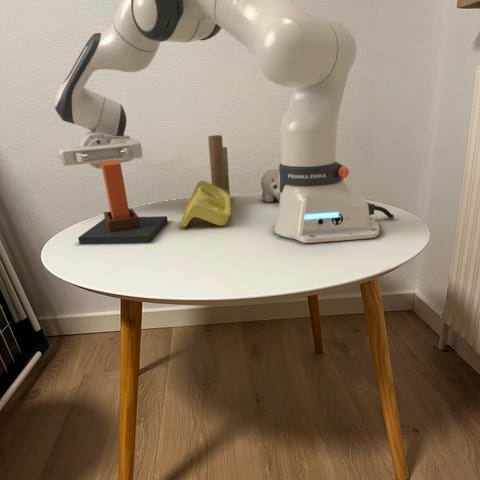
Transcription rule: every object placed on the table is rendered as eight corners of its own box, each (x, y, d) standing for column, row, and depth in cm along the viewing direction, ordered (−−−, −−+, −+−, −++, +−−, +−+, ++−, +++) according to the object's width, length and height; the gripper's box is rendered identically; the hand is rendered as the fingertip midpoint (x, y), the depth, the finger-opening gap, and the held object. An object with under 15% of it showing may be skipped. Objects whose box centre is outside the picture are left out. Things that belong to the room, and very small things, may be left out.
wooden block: (230, 198, 126) (226, 132, 118) (226, 207, 117) (221, 136, 108) (217, 199, 127) (212, 132, 118) (212, 208, 117) (206, 137, 109)
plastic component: (230, 217, 99) (189, 200, 97) (219, 244, 103) (179, 229, 101) (230, 192, 116) (195, 177, 114) (220, 216, 119) (186, 202, 117)
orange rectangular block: (112, 223, 104) (100, 162, 97) (127, 220, 105) (116, 160, 98) (116, 229, 99) (103, 165, 92) (131, 226, 100) (120, 163, 93)
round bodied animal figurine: (265, 209, 113) (265, 175, 109) (259, 198, 124) (258, 167, 120) (292, 207, 114) (292, 173, 110) (284, 196, 124) (284, 166, 120)
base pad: (167, 222, 107) (165, 206, 105) (149, 242, 93) (146, 224, 92) (106, 223, 109) (103, 207, 107) (79, 244, 95) (75, 226, 93)
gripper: (55, 142, 112) (56, 147, 100) (134, 134, 118) (143, 138, 106) (61, 167, 115) (63, 175, 103) (138, 159, 121) (147, 165, 109)
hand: (105, 156), depth 105 cm, fingers open, 8 cm apart
